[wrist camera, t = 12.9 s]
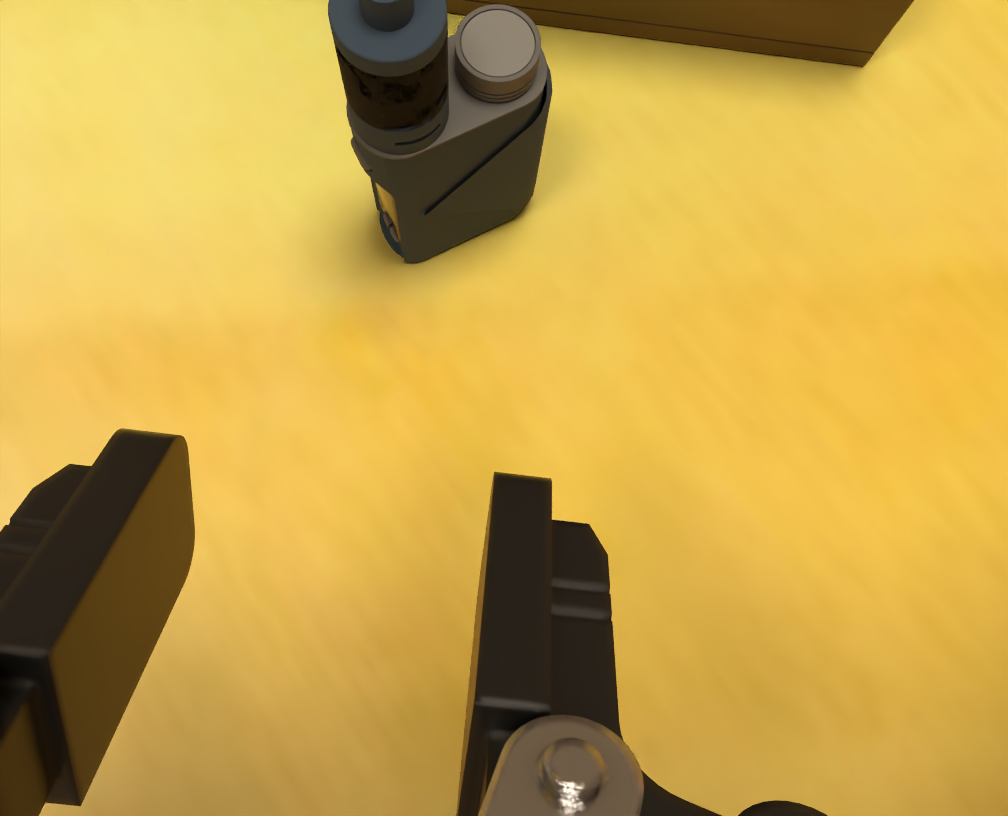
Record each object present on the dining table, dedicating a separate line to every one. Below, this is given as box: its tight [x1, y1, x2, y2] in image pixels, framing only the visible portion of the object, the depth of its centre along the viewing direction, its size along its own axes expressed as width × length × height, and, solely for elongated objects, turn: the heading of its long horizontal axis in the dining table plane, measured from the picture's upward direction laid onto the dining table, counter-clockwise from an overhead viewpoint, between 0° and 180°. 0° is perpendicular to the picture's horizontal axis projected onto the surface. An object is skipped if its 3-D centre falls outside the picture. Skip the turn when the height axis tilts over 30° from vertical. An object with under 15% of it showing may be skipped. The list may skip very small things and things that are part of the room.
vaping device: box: [328, 0, 552, 263], centre depth 24 cm, size 3×5×12 cm, turn 117°
